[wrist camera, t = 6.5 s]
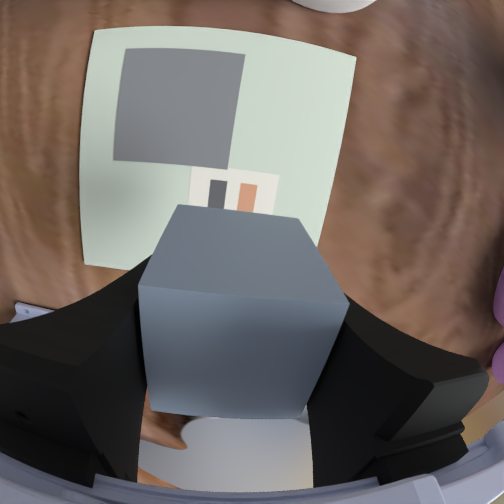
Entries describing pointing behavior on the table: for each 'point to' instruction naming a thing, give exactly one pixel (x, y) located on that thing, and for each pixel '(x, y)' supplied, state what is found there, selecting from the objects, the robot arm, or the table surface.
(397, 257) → the table surface
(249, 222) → the blue-grey rectangular block
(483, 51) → the table surface
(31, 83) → the table surface
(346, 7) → the bottle
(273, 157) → the mat
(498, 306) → the container set
